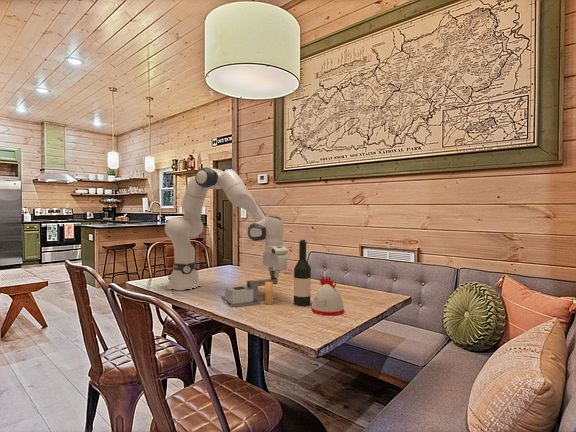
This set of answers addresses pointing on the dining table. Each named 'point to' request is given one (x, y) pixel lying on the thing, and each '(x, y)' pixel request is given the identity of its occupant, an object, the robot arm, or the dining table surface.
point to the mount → (242, 295)
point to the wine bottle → (302, 278)
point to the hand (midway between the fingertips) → (273, 276)
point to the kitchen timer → (327, 299)
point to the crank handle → (266, 280)
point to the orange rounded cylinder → (268, 293)
